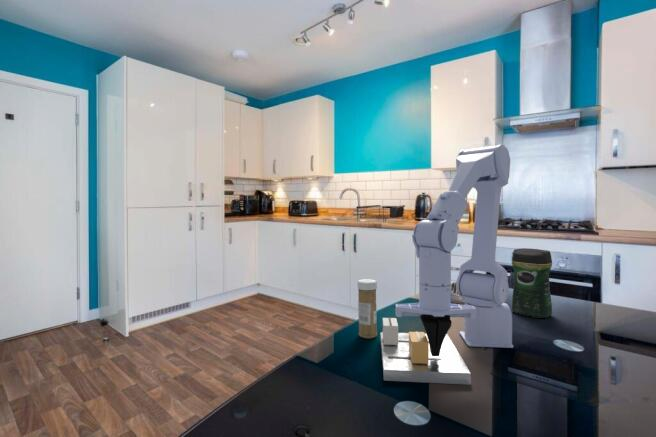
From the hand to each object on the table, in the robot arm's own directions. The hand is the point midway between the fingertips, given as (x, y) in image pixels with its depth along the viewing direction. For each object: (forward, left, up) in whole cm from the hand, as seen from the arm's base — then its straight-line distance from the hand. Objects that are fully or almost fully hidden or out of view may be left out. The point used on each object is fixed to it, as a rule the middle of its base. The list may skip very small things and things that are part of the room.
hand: (434, 354), depth 65 cm
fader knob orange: (+3, 0, -1) cm, 3 cm away
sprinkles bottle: (+13, -16, -3) cm, 21 cm away
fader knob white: (+8, -8, -1) cm, 11 cm away
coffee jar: (-33, -36, -3) cm, 49 cm away
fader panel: (+2, -4, -3) cm, 6 cm away
